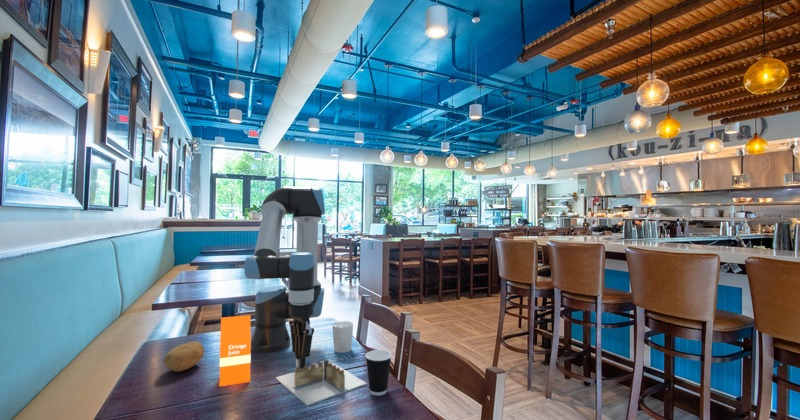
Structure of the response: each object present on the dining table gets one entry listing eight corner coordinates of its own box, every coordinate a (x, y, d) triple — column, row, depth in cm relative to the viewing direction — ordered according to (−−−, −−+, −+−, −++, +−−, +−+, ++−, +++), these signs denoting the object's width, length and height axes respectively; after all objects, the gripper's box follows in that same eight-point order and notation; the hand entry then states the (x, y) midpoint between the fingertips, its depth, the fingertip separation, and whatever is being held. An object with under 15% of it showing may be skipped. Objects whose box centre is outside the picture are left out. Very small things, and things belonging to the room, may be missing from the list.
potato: (153, 376, 119) (154, 351, 119) (187, 359, 132) (187, 337, 132) (179, 379, 116) (179, 354, 117) (211, 362, 130) (211, 339, 130)
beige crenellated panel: (321, 377, 117) (322, 361, 117) (323, 379, 116) (323, 362, 116) (294, 385, 112) (294, 368, 112) (295, 386, 111) (296, 369, 111)
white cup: (348, 354, 139) (349, 327, 139) (329, 352, 140) (329, 326, 140) (355, 347, 146) (355, 321, 146) (336, 345, 148) (337, 320, 148)
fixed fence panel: (323, 379, 117) (323, 360, 117) (326, 378, 118) (327, 359, 118) (340, 391, 109) (341, 371, 109) (344, 390, 110) (345, 370, 110)
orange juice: (220, 376, 119) (221, 314, 119) (249, 372, 122) (250, 312, 123) (219, 386, 112) (220, 321, 112) (250, 381, 115) (251, 318, 116)
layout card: (275, 378, 118) (275, 377, 118) (330, 362, 131) (330, 361, 131) (307, 406, 101) (307, 404, 101) (366, 384, 114) (366, 383, 114)
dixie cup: (359, 391, 110) (359, 354, 110) (379, 383, 115) (380, 347, 115) (376, 401, 104) (376, 362, 104) (397, 392, 109) (397, 354, 110)
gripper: (322, 304, 113) (321, 381, 112) (303, 296, 122) (302, 367, 122) (299, 308, 108) (298, 388, 107) (281, 300, 117) (280, 374, 117)
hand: (300, 377), depth 115 cm, fingers closed
